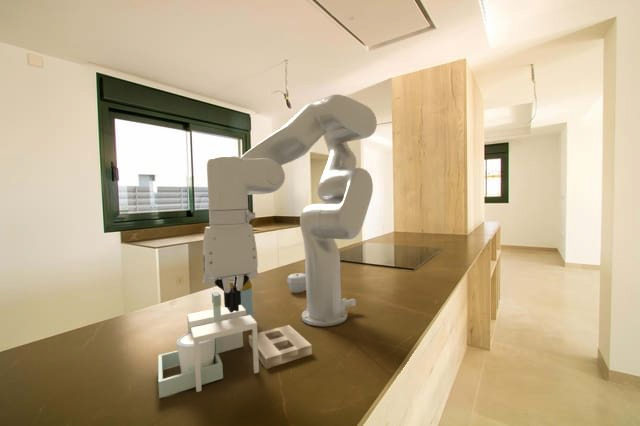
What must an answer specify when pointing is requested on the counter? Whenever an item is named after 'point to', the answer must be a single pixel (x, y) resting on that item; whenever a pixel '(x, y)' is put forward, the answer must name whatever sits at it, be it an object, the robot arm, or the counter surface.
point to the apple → (297, 282)
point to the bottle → (245, 296)
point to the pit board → (281, 346)
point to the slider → (188, 378)
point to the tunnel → (221, 333)
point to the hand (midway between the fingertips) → (232, 309)
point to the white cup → (187, 352)
